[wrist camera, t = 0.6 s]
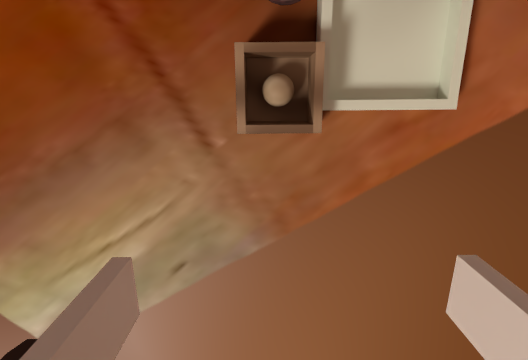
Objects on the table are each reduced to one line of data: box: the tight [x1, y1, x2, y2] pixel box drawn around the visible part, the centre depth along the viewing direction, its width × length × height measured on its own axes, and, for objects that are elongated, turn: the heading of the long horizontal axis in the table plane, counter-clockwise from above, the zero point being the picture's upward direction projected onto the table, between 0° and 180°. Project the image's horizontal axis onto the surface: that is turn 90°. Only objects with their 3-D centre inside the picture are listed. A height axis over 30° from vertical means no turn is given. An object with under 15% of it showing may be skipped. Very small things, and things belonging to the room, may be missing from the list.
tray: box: [316, 0, 473, 110], centre depth 29 cm, size 16×14×3 cm
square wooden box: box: [234, 42, 325, 134], centre depth 30 cm, size 8×8×5 cm
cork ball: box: [262, 73, 294, 107], centre depth 30 cm, size 3×3×3 cm
